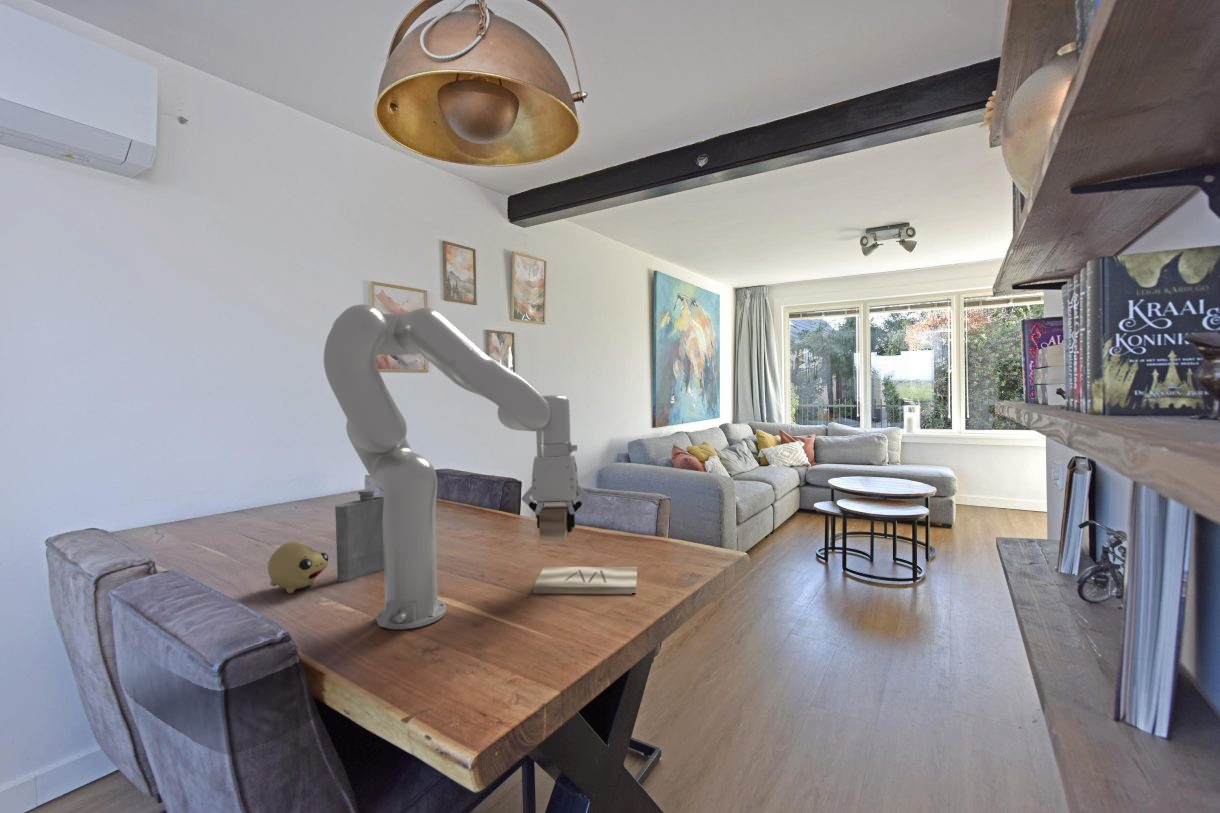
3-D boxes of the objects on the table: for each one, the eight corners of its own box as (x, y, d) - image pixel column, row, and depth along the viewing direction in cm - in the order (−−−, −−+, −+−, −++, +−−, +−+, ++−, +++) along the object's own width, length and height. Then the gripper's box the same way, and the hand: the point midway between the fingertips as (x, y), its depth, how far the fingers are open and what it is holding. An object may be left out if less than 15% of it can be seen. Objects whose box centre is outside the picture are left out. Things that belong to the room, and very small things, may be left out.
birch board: (636, 593, 116) (636, 586, 116) (533, 593, 117) (532, 586, 117) (637, 573, 129) (637, 566, 128) (544, 573, 130) (544, 566, 130)
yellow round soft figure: (302, 600, 116) (300, 550, 115) (258, 594, 119) (256, 546, 119) (337, 584, 125) (336, 537, 125) (296, 579, 129) (294, 534, 128)
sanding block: (565, 540, 118) (564, 512, 118) (539, 540, 118) (538, 512, 118) (571, 528, 128) (571, 502, 128) (548, 528, 128) (547, 503, 128)
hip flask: (342, 583, 126) (339, 496, 125) (333, 579, 128) (330, 494, 128) (403, 564, 139) (401, 485, 138) (394, 561, 141) (391, 484, 141)
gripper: (593, 448, 126) (596, 526, 126) (519, 449, 127) (522, 527, 127) (590, 451, 118) (592, 535, 119) (511, 453, 119) (514, 535, 120)
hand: (556, 530), depth 123 cm, fingers closed on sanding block, 5 cm apart
